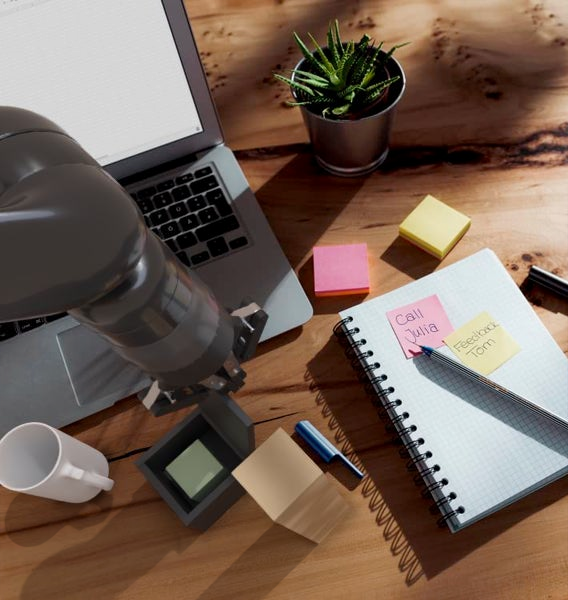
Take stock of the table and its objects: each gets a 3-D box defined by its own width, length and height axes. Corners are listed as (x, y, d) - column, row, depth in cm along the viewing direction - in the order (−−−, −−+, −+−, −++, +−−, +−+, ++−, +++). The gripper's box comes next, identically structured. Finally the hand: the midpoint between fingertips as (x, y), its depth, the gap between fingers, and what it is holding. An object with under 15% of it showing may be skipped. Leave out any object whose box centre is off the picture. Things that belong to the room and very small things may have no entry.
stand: (318, 544, 73) (273, 521, 49) (288, 510, 74) (230, 472, 50) (351, 510, 74) (323, 472, 50) (321, 478, 76) (280, 426, 52)
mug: (41, 494, 75) (-22, 477, 64) (71, 438, 78) (15, 413, 67) (119, 523, 74) (68, 511, 63) (147, 465, 76) (103, 444, 66)
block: (203, 503, 74) (190, 498, 70) (178, 475, 75) (164, 468, 71) (234, 474, 75) (223, 467, 71) (209, 446, 76) (197, 438, 72)
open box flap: (247, 427, 61) (254, 421, 62) (187, 361, 64) (194, 356, 64) (250, 463, 69) (256, 458, 70) (196, 404, 72) (202, 399, 72)
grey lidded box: (205, 531, 73) (186, 526, 67) (156, 473, 76) (133, 462, 70) (267, 472, 76) (254, 461, 70) (217, 417, 79) (201, 402, 72)
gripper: (204, 229, 50) (260, 310, 66) (61, 349, 47) (156, 403, 63) (268, 292, 48) (310, 360, 64) (123, 422, 45) (205, 459, 61)
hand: (233, 382), depth 64 cm, fingers closed
